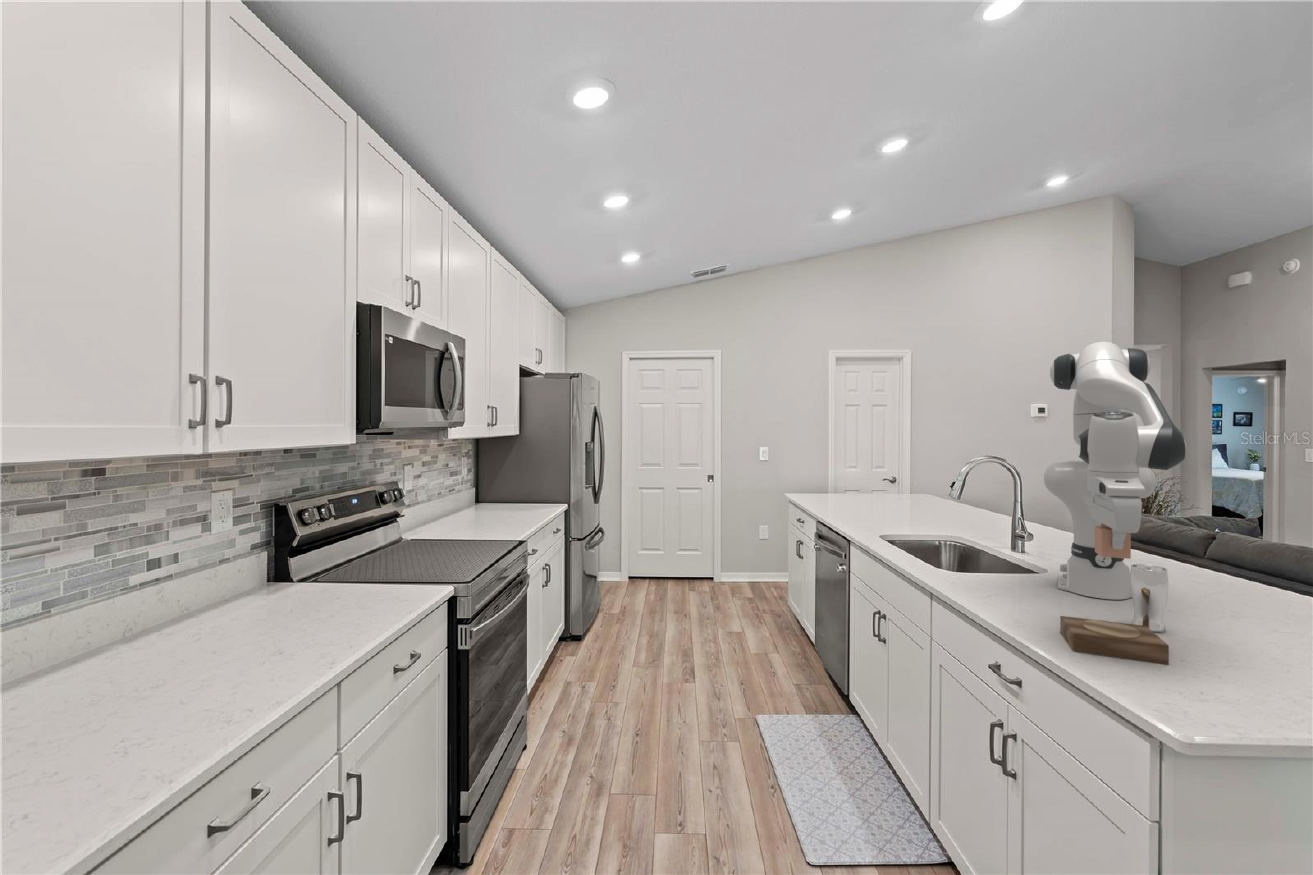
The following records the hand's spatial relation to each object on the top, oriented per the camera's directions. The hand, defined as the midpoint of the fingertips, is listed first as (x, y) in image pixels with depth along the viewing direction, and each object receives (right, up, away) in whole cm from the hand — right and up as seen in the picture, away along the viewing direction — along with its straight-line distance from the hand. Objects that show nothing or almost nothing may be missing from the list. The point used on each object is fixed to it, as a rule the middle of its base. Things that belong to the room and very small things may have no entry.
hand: (1112, 545), depth 120 cm
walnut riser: (0, -23, +1) cm, 23 cm away
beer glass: (+19, -23, +11) cm, 32 cm away
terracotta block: (0, -2, 0) cm, 2 cm away
